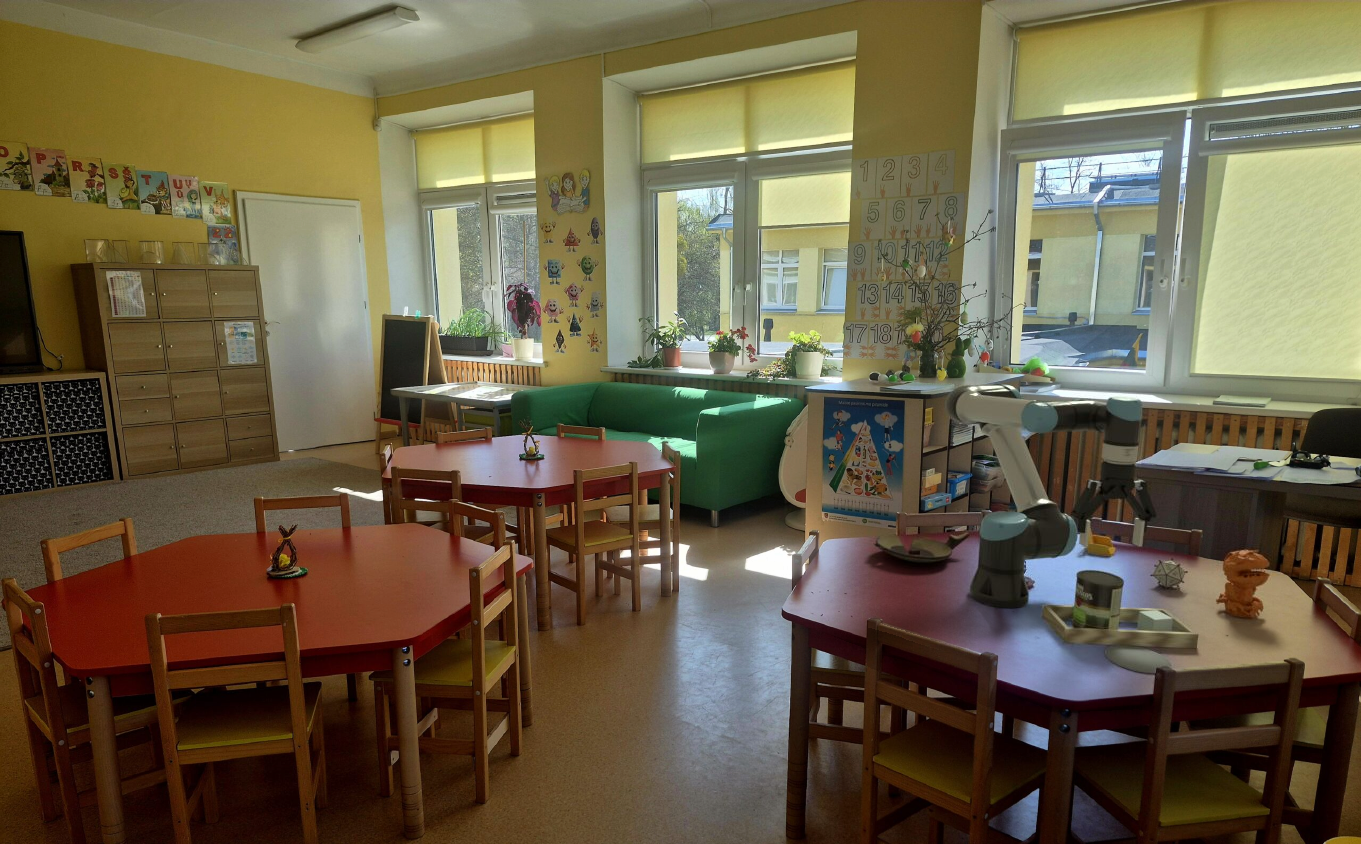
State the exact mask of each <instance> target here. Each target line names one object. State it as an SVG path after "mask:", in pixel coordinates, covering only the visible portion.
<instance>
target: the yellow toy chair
mask: <svg viewBox="0 0 1361 844" xmlns="http://www.w3.org/2000/svg"><path fill="white" fill-rule="evenodd" d="M1085 548H1086V551H1087V554H1090V555H1098V556H1105V557H1110V558H1112V556H1115V553H1116V547H1115V546H1114V544H1113V542H1112V539H1111V538H1110V537H1109V536H1104V535H1098V534H1093V533H1092V529H1091V527H1090V532H1089V542H1088V547H1085Z"/></svg>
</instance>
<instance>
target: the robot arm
mask: <svg viewBox="0 0 1361 844" xmlns="http://www.w3.org/2000/svg"><path fill="white" fill-rule="evenodd" d="M944 409H945V413H946V415H947V416H948V417H949V418H950V419H951V420H953V421H954V422H956V423H958V424H962V425H978V426H979V428H980V431H981V434H983V435H984V436H987V437H989V440H990V442H991V444H992V447H993V450H994V452H995V454H996V457H997V460H998V462H999V465H1000V467H1001V471H1002V473H1003V475H1004V478H1005V481H1006V482H1007V486H1008V488H1009V491H1010V494H1011V496H1012V499H1013V501H1014V503H1015V507H1016V510H1017V511H1013V510H1008V511H1006V510H999V511H998V510H997V511H993V512H989V513H988V514H986V515H985V516H984V517H982V519H981V524H980V529H979V547H978V561H977V568H976V571H975V573H974V575H973V578H972V580H971V582H970V585H969V589H968V591H969V592H968V594H969V596H970V598H972V599H973V600H974V601H976V602H978V603H981V604H984V605H986V606H987V605H988V606H990V607H991V606H992V607H996V608H1002V609H1003V608H1004V609H1005V608H1007V609H1017V608H1021V607H1025V606H1027V605H1028V604H1029V601H1030V599H1029V598H1030V593H1029V589H1028V585H1027V582H1026V577H1025V573H1024V572H1025V563H1026V562H1025V561H1027V560H1030V561H1031V560H1040V559H1048V558H1049V559H1050V558H1051V559H1056V558H1058V557H1059V558H1060V557H1065V556H1067V555H1069V554H1070V553H1071V552H1072V551H1074V549H1075V547H1076V546H1077V545H1076V544H1077V541H1078V545H1080V546H1083V547H1084V548H1086V547H1088V542H1089V532H1090V528H1091V521H1090V520H1089V518H1091V517H1092V515H1094V514H1095V512H1096V511H1098V509H1099V508H1100V507H1101V506H1102V505H1103V504H1104V503H1105V502H1107V501H1108V500H1126V502H1127V503H1128V505H1129V506H1130V508H1131V509H1132V510H1133V511H1134V513H1135V514H1136V515H1137V517H1135V518H1134V523H1133V524H1134V525H1133V526H1134V527H1133V532H1132V533H1133V534H1132V542H1131V543H1132V544H1133V545H1135V546H1137V547H1138V548H1139V547H1143V541H1144V533H1147V530H1148V529H1147V528H1148V523H1149V522H1152V518H1153V519H1156V518H1157V512H1156V510H1155V506H1154V504H1153V502H1152V499H1151V497H1150V494H1149V492H1148V482H1147V481H1144V480H1142V479H1139V478H1138V479H1136V476H1137V475H1136V473H1137V464H1136V462H1137V461H1138V456H1139V455H1138V454H1139V447H1140V446H1139V444H1140V435H1141V428H1142V427H1141V426H1142V422H1143V421H1142V420H1143V417H1144V415H1143V402H1142V401H1141V400H1140V399H1139V398H1137V397H1127V396H1112V397H1111V396H1110V397H1108V399H1107V401H1106V402H1103V401H1099V400H1093V399H1090V398H1074V399H1073V400H1071V401H1069V400H1068V401H1043V400H1031V399H1023V396H1022V393H1020V391H1019V390H1018V389H1017V388H1015V387H1014V386H1013V385H1009V384H1002V383H1001V384H1000V383H994V384H979V385H978V384H977V385H976V384H974V385H973V384H971V385H970V384H969V385H968V384H967V385H961V386H958V387H956V388H954V389H953V390H951V391H950V392H949V394H948V395H947V397H946V400H945V404H944ZM1020 428H1021V429H1025V430H1026V431H1028V432H1029V433H1033V434H1034V433H1035V434H1036V433H1037V434H1046V433H1056V432H1057V433H1058V432H1083V431H1084V432H1085V431H1086V432H1087V431H1091V432H1097V433H1099V434H1100V433H1101V434H1103V441H1102V449H1101V450H1102V451H1101V452H1102V453H1101V458H1102V460H1101V462H1100V472H1099V474H1100V479H1099V480H1098V481H1097V480H1092V479H1087V480H1086V483H1085V487H1084V490H1083V492H1082V493H1081V494H1080V496H1079V498H1078V500H1076V501H1077V502H1076V503H1075V505H1074V506H1073V508H1072V510H1071V512H1070V515H1071V516H1069V514H1066V513H1064V512H1063V513H1062V512H1061V511H1060V508H1059V506H1058V504H1057V503H1056V502H1054V501H1051V500H1049V497H1048V495H1047V492H1046V490H1045V487H1044V485H1043V483H1042V480H1041V477H1040V475H1039V473H1038V470H1037V467H1036V465H1035V462H1034V460H1033V458H1032V456H1031V454H1030V451H1029V448H1028V445H1027V444H1026V441H1025V438H1024V436H1023V434H1022V431H1021V429H1020ZM1135 479H1136V480H1135ZM1134 488H1135V491H1136V493H1137V495H1138V498H1139V500H1140V503H1141V504H1140V503H1139V501H1138V500H1137V499H1136V496H1135V495H1134V494H1133V492H1132V491H1133V490H1134ZM1097 490H1098V491H1097ZM1096 491H1097V492H1096ZM1094 495H1095V496H1094ZM1072 517H1074V518H1075V519H1077V520H1078V521H1077V525H1076V522H1075V520H1074V519H1073V518H1072ZM1078 533H1079V534H1078ZM1078 535H1079V537H1078ZM1078 538H1079V540H1078Z"/></svg>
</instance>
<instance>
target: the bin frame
mask: <svg viewBox="0 0 1361 844" xmlns="http://www.w3.org/2000/svg"><path fill="white" fill-rule="evenodd" d="M1041 608H1042V610H1041V611H1042V612H1041V618H1042V620H1044V622H1045V623H1046V624H1047V625H1048V626H1049V627H1050V628H1051V629H1052V630H1053V631H1054V633H1055V634H1056V635H1057V637H1059V638H1060V639H1061V640H1062V641H1063V643H1064V644H1081V645H1103V646H1107V645H1108V646H1110V645H1111V646H1116V645H1128V646H1135V647H1155V648H1157V647H1158V648H1173V649H1175V648H1177V649H1178V648H1179V649H1198V641H1199V636H1200V635H1199V634H1198V633H1197V632H1196V631H1194V630H1193V629H1192V628H1191V627H1189V625H1187V624H1185V623H1184V622H1183V621H1181V619H1179V618H1177V617H1176V616H1175V615H1174V614H1172V613H1171V612H1170V611H1169V610H1166V609H1165V608H1150V607H1149V608H1148V607H1147V608H1146V607H1144V608H1143V607H1124V606H1123V607H1122V606H1121V608H1120V617H1119V623H1137V624H1138V619H1139V612H1140V611H1154V610H1157V611H1159V612H1161V613H1163V614H1165V615H1167V616H1169V617H1171V618H1173V622H1172V631H1171V632H1167V631H1142V630H1137V629H1118V630H1117V629H1091V628H1072V627H1069V626H1068V625H1067V624H1066V623H1065V622H1064V621H1065V620H1067V621H1073V612H1074V605H1070V604H1069V605H1066V604H1065V605H1063V604H1042V607H1041Z"/></svg>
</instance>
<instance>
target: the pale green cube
mask: <svg viewBox="0 0 1361 844" xmlns="http://www.w3.org/2000/svg"><path fill="white" fill-rule="evenodd" d="M1172 622H1173V618H1171V617H1169V616H1167V615H1165V614H1163V613H1161V612H1159V611H1157V610H1154V611H1140V612H1139V619H1138V623H1137V629H1136V630H1142V631H1167V632H1171V631H1172Z"/></svg>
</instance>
